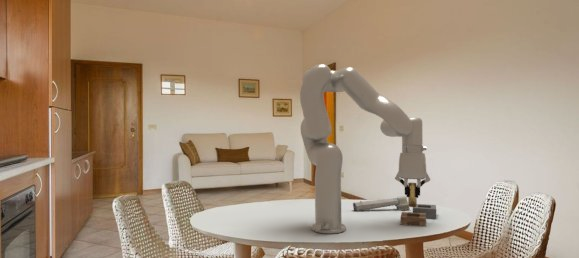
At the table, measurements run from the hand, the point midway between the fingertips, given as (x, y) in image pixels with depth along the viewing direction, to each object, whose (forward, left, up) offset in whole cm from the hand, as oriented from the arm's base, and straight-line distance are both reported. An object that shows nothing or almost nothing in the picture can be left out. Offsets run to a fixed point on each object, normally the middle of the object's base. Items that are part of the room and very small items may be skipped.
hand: (412, 196), depth 142 cm
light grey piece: (+20, +14, -11) cm, 26 cm away
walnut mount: (0, 0, -10) cm, 10 cm away
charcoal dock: (+13, -4, -10) cm, 17 cm away
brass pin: (0, 0, -4) cm, 4 cm away
